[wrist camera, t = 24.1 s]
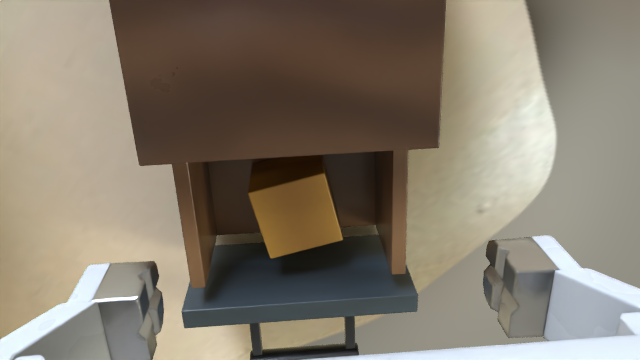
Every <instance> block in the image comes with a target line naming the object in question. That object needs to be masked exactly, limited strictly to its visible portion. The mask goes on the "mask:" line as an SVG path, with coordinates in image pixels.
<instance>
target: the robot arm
mask: <svg viewBox="0 0 640 360" xmlns="http://www.w3.org/2000/svg"><path fill="white" fill-rule="evenodd" d="M486 257H487V259H488V260H489V261H490V263H491V264H490V265H489V266H488V267H487V268H486V270H485V271H484V278H483V286H484V294H485V297H486V300H487V302H488V304H489V306H490V308H491V309H493V310H495V311H497V312H498V322H499V323H500V325H501V327H502V328H503V330H504V332H505V333H506V335H507V337H508V338H518V337H539V336H544V337H543V338H544V339H546V340H547V341H545V342H531V343H519V344H518V343H517V344H504V345H492V346H477V347H464V348H450V349H437V350H425V351H411V352H397V353H384V354H371V355H357V356H343V357H330V358H316V359H303V360H640V289H639V288H636V287H634V286H631V285H629V284H626V283H624V282H621V281H619V280H616V279H614V278H611V277H609V276H606V275H604V274H601V273H599V272H596V271H594V270H591V269H589V268H587V269H582V268H581V267H580V266H579V265H578V264H577V262H575V260H574V259H573V258H572V257H571V256H570V255H569V254H568V253H567V252H566V251H565V250H564V248H562V246H561V245H560V244H559V243H558V242H557V241H556V240H555V239H554V238H553V237H551V236H549V235H545V236H535V237H524V238H513V239H503V240H492V241H489V242H488V245H487V249H486ZM158 279H159V274H158V269H157V265H156V263H155V262H154V261H147V262H125V263H102V264H91V265H89V266H88V267H87V268H86V270H85V272H84V273H83V275H82V277H81V279H80V280H79V282H78V284H77V286H76V287H75V289H74V291H73V293H72V294H71V296H70V298H69V300H68V301H67V303H62V304H59V305H57V306H55V307H54V308H52V309H50V310H49V311H47V312H45V313H44V314H42V315H40V316H39V317H37V318H35V319H34V320H32V321H30V322H28V323H27V324H25V325H23V326H22V327H20V328H18V329H17V330H15V331H13V332H12V333H10V334H8V335H7V336H5V337H3V338H2V339H0V360H152V359H153V356H154V352H155V349H156V346H157V342H156V335H157V334H158V333H159V332H161V328H162V324H163V314H164V308H163V297H162V292H161V291H159V290H158V289H157V288H156V285H157V282H158Z"/></svg>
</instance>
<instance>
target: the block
mask: <svg viewBox="0 0 640 360" xmlns="http://www.w3.org/2000/svg"><path fill="white" fill-rule="evenodd" d="M248 196H249V199H250V202H251V205H252V208H253V210H254V213H255V216H256V219H257V222H258V225H259V228H260V231H261V234H262V236H263V239H264V242H265V245H266V248H267V251H268V254H269V257H270V258H271V259H272V258H276V257H279V256H283V255H287V254H291V253H295V252H299V251H303V250H307V249H310V248H314V247H318V246H322V245H326V244H330V243H334V242H337V241H341V240H343V236H342V231H341V226H340V221H339V216H338V212H337V207H336V203H335V199H334V196H333V192H332V189H331V185H330V181H329V178H328V174H327V171H326V167H325V163H324V160H323V156H322V155H311V156H295V157H278V158H274V159H270V160H267V161H263V162H259V163H255V164H252V168H251V175H250V182H249V189H248Z"/></svg>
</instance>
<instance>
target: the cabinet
mask: <svg viewBox="0 0 640 360" xmlns="http://www.w3.org/2000/svg"><path fill="white" fill-rule="evenodd" d="M109 2H110V8H111V13H112V19H113V24H114V30H115V35H116V41H117V46H118V52H119V57H120V63H121V68H122V74H123V79H124V84H125V90H126V95H127V101H128V106H129V112H130V117H131V123H132V128H133V134H134V139H135V145H136V150H137V156H138V161H139V165H140V166H145V165H162V164H179V163H195V162H212V161H228V160H245V159H262V158H278V157H295V156H311V155H328V154H345V153H361V152H378V151H394V150H411V149H428V148H439V141H440V120H441V98H442V77H443V55H444V33H445V12H446V0H109Z"/></svg>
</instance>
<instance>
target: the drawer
mask: <svg viewBox="0 0 640 360" xmlns="http://www.w3.org/2000/svg"><path fill="white" fill-rule="evenodd" d="M322 156H323V160H324V163H325V167H326V171H327V174H328V178H329V181H330V185H331V189H332V192H333V196H334V199H335V203H336V207H337V212H338V216H339V221H340V226H341V227H350V226H365V225H376V228H377V231H378V234H379V235H365V236H350V237H343V240H341V241H337V242H334V243H330V244H326V245H322V246H318V247H314V248H310V249H307V250H303V251H299V252H295V253H291V254H287V255H283V256H279V257H276V258H272V259H271V258H270V257H269V254H268V251H267V248H266V245H265V242H260V243H245V244H230V245H215V243H216V239H217V235H228V234H243V233H259V232H261V231H260V228H259V225H258V222H257V219H256V216H255V213H254V210H253V208H252V205H251V202H250V199H249V196H248V189H249V182H250V175H251V168H252V164H255V163H259V162H263V161H267V160H270V159H274V158H262V159H245V160H228V161H212V162H195V163H179V164H172V167H173V174H174V180H175V186H176V193H177V199H178V205H179V212H180V218H181V225H182V231H183V237H184V244H185V250H186V256H187V263H188V269H189V276H190V283H189V287H188V290H187V294H186V297H185V301H184V305H183V308H182V317H183V323H184V328H195V327H208V326H222V325H236V324H250V332H251V341H252V351H251V353H250V360H303V359H316V358H330V357H343V356H357V355H359V352H358V345H357V343H355V318H354V316H361V315H374V314H388V313H402V312H416V311H417V302H418V294H417V291H416V289H415V286H414V284H413V281H412V278H411V276H410V273H409V271H408V268H407V265H406V228H407V184H408V150H394V151H378V152H361V153H345V154H328V155H322ZM333 317H344V322H345V344H331V345H318V346H303V347H290V348H277V349H263V348H262V338H261V329H260V323H264V322H278V321H291V320H305V319H319V318H333Z"/></svg>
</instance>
